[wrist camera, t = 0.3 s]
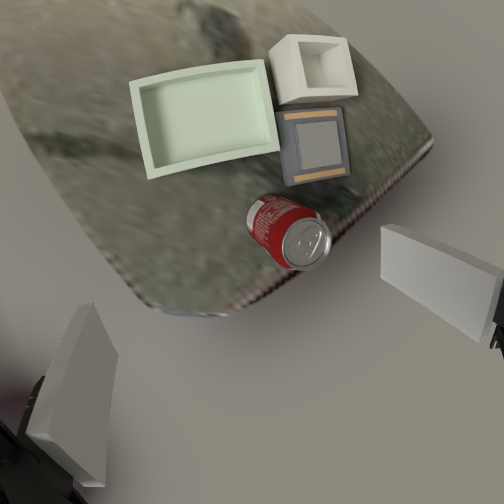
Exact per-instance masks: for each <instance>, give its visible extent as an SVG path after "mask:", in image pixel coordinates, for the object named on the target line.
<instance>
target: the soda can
mask: <svg viewBox="0 0 504 504" xmlns="http://www.w3.org/2000/svg"><path fill="white" fill-rule="evenodd" d="M246 225H247V229H248V232H249V233H250V235H251V236H252V237H253V238H254V239H255V240H256V241H257V242H258V243H259V244H260V245H261V246H262V247H263V248H264V249H265V250H266V251H267V252H268V253H269V255H270V256H271V257H272V258H273V259H274V260H275V261H276V262H277V263H278V264H280V265H281V266H283V267H285V268H287V269H291V270H301V271H305V270H310V269H313V268H315V267H316V266H318V265H320V264H321V263H322V262H323V261H324V259H325V258H326V257H327V255H328V253H329V251H330V248H331V234H330V231H329V229H328V227H327V225H326V223H325V221H324V219H323V218H322V217H321V215H320V214H318V213H317V212H316V211H314V210H312V209H309V208H307V207H305V206H302V205H300V204H298V203H295V202H293V201H290V200H288V199H286V198H283V197H281V196H278V195H265V196H262V197H260V198H259V199H257V200H256V201H255V202H254V203H253V204H252V205H251V206H250V208H249V210H248V213H247V216H246Z"/></svg>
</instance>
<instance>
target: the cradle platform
mask: <svg viewBox="0 0 504 504" xmlns="http://www.w3.org/2000/svg"><path fill="white" fill-rule="evenodd" d="M293 127H294V133H295V139H296V145H297V151H298V158H299V164H300V169H302V170H305V169H311V168H317V167H323V166H329V165H335V164H341V163H342V160H341V152H340V145H339V137H338V130H337V124H336V121H327V122H316V123H305V124H296V125H293Z"/></svg>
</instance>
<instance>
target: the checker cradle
mask: <svg viewBox="0 0 504 504" xmlns="http://www.w3.org/2000/svg"><path fill="white" fill-rule="evenodd" d="M274 117H275V123H276V128H277V134H278V140H279V146H280V151H279V152H280V158H281V164H282V171H283V177H284V183H285V186H293V185H298V184H303V183H308V182H313V181H318V180H324V179H329V178H334V177H340V176H346V175H350V167H349V158H348V150H347V142H346V135H345V128H344V121H343V115H342V109H341V107H333V108H315V109H302V110H291V111H281V112H275V113H274ZM327 121H336V124H337V130H338V137H339V145H340V152H341V160H342V163H341V164H335V165H329V166H323V167H317V168H311V169H305V170H302V169H300V164H299V158H298V151H297V145H296V139H295V133H294V127H293V125H296V124H305V123H316V122H327Z"/></svg>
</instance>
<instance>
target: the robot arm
mask: <svg viewBox="0 0 504 504" xmlns="http://www.w3.org/2000/svg"><path fill="white" fill-rule="evenodd" d="M381 279H383V280H385V281H386V282H388V283H390V284H391V285H393V286H394V287H396V288H397V289H399V290H401V291H402V292H404V293H405V294H407V295H408V296H410V297H411V298H413V299H414V300H416V301H417V302H419V303H420V304H422V305H423V306H425V307H427V308H428V309H429V310H431V311H432V312H434V313H436V314H437V315H439V316H440V317H441V318H443V319H444V320H446V321H448V322H449V323H450V324H452V325H453V326H455V327H456V328H458V329H459V330H461V331H462V332H463V333H465V334H466V335H468V336H469V337H470V338H472V339H473V340H475V341H476V342H478V343H479V342H481V341H482V340H483V339H484V338H485V337H486V336H487V335H488V333H489V331H490V328H491V325H492V321H493V322H495V323H496V324H497V326H496V329H495V332H494V335H493V338H492V340H491V343H490V349H492V348H493V345H494V343H495V341H497V344H496V347H495V348H501V351H502V355H503V358H504V270H503V269H501V268H498V267H496V266H494V265H492V264H490V263H488V262H485V261H483V260H481V259H479V258H477V257H474V256H472V255H470V254H468V253H465V252H463V251H460V250H458V249H456V248H453V247H451V246H449V245H446V244H444V243H442V242H439V241H437V240H434V239H432V238H429V237H427V236H424V235H422V234H419V233H417V232H414V231H411V230H409V229H406V228H403V227H401V226H398V225H395V224H388V225H384V226H381ZM117 359H118V354H117V352H116V350H115V348H114V346H113V344H112V342H111V340H110V338H109V336H108V334H107V332H106V330H105V327H104V325H103V323H102V321H101V319H100V316H99V314H98V312H97V310H96V308H95V305H94V303H93V302H92V303H89V304H84V305H80V306H78V307H77V309H76V311H75V313H74V315H73V317H72V319H71V321H70V323H69V325H68V327H67V329H66V331H65V333H64V335H63V337H62V339H61V342H60V344H59V346H58V348H57V350H56V353H55V355H54V357H53V359H52V362H51V364H50V367H49V369H48V372H47V374H46V376H42V377H41V378H40V380H39V381H38V382H37V383H36V385H35V386H34V388H33V391H32V393H31V396H30V400H29V401H28V404H27V408H26V409H25V412H24V415H23V418H22V420H21V423H20V426H19V429H18V433H17V436H15V435H14V434H13V432H12V431H11V430H10V429H9V428H8V427H7V426H6V425H5V424H4V423H3V421H2V420H0V504H88V503H87V502H86V501H85V500H84V498H83V497H82V496H81V495H80V493H79V492H78V491H77V490H76V489H75V488H74V487H72V485H73V478H74V479H75V480H77V481H78V482H79V483H81V484H82V485H83V486H86V487H105V477H106V454H107V439H108V427H109V417H110V408H111V399H112V392H113V385H114V378H115V371H116V365H117Z"/></svg>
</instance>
